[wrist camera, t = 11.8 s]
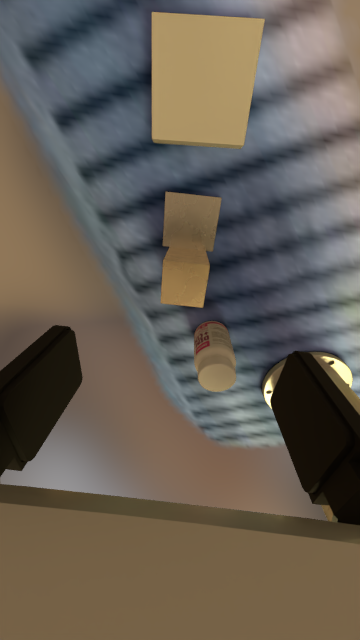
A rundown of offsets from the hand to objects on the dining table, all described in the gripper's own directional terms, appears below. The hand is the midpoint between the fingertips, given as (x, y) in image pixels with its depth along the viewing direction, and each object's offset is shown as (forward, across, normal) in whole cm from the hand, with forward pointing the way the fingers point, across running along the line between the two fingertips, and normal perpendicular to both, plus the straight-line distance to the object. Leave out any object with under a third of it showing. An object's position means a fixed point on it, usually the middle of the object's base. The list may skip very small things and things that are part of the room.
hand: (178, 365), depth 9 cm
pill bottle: (+18, -4, +9) cm, 21 cm away
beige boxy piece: (+18, 0, -3) cm, 18 cm away
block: (+17, 0, -11) cm, 20 cm away
